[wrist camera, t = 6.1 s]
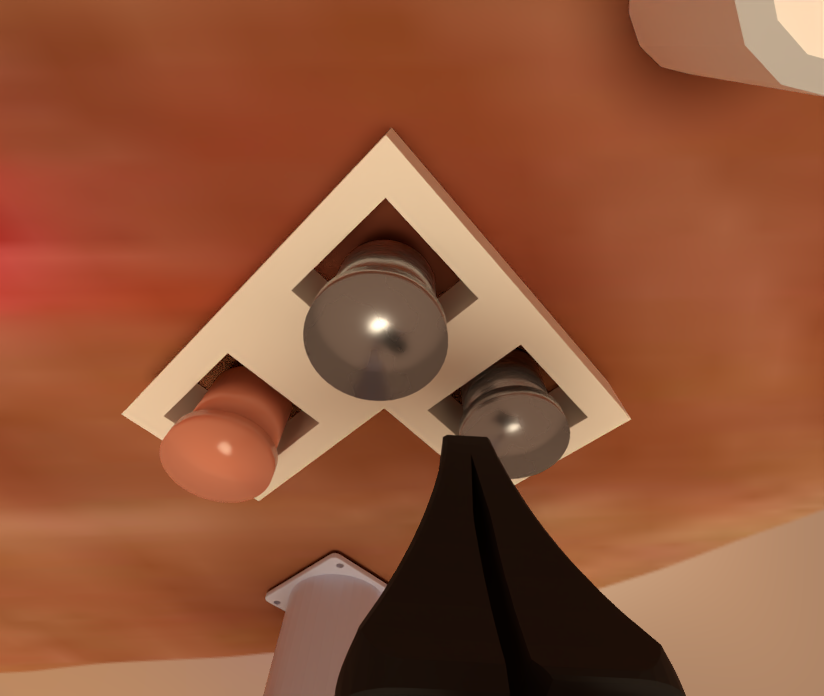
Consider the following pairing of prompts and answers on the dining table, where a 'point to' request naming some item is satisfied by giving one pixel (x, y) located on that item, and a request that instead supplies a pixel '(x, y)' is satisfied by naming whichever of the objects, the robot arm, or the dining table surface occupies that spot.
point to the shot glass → (736, 40)
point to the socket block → (463, 303)
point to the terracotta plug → (228, 439)
